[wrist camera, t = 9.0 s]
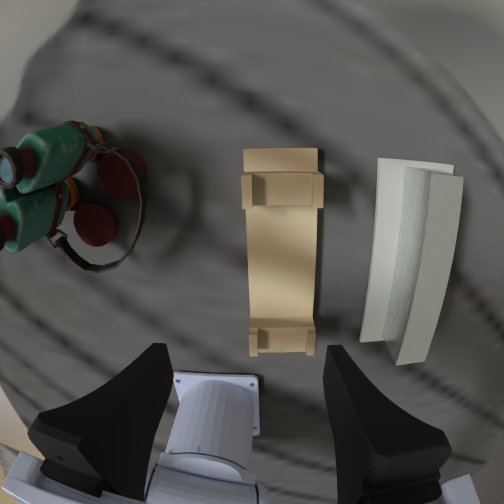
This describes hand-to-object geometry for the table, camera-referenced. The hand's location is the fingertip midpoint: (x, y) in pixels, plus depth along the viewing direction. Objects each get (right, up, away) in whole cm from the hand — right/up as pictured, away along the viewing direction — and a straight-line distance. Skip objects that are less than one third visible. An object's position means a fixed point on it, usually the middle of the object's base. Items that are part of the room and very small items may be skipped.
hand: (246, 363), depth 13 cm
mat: (+12, +4, +9) cm, 16 cm away
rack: (+2, +4, +9) cm, 11 cm away
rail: (+12, +4, +8) cm, 16 cm away
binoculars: (-11, +10, +8) cm, 17 cm away
